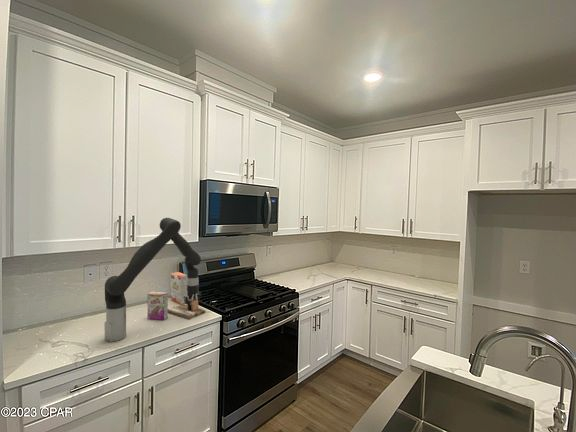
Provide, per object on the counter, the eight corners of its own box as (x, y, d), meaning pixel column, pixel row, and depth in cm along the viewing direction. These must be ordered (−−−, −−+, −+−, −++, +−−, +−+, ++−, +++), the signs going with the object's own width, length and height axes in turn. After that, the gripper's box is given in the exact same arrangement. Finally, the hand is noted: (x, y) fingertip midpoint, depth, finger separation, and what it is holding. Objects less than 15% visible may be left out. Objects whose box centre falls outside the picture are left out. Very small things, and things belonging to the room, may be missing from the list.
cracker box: (170, 300, 215) (170, 272, 214) (178, 298, 219) (178, 271, 218) (180, 304, 206) (180, 276, 205) (187, 302, 210) (187, 274, 209)
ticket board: (188, 319, 180) (188, 315, 180) (165, 312, 191) (165, 308, 191) (205, 312, 192) (205, 308, 192) (182, 306, 203) (182, 302, 203)
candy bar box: (147, 319, 179) (146, 293, 179) (151, 316, 184) (151, 291, 184) (164, 320, 178) (164, 294, 178) (168, 317, 183) (168, 292, 183)
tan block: (193, 310, 191) (193, 301, 191) (187, 308, 194) (187, 300, 194) (198, 308, 194) (198, 300, 194) (191, 307, 197) (191, 298, 197)
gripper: (188, 287, 185) (188, 313, 186) (204, 282, 198) (204, 306, 198) (180, 285, 189) (180, 311, 190) (196, 280, 201) (196, 304, 202)
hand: (192, 308), depth 194 cm, fingers closed on tan block, 4 cm apart
